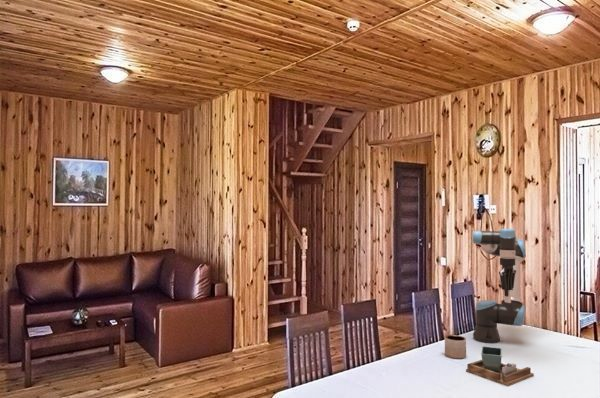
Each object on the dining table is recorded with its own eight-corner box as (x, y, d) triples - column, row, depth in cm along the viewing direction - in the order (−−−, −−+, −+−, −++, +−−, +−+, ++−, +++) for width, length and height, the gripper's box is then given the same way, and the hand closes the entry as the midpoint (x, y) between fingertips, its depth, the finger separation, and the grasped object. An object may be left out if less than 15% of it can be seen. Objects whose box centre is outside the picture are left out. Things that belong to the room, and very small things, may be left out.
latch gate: (501, 378, 199) (501, 365, 199) (512, 374, 204) (512, 361, 204) (505, 379, 197) (505, 366, 197) (516, 375, 202) (516, 362, 202)
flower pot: (502, 365, 212) (501, 347, 211) (502, 374, 204) (501, 355, 204) (483, 363, 216) (482, 346, 215) (482, 372, 208) (481, 353, 207)
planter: (444, 357, 231) (443, 339, 231) (445, 351, 241) (445, 333, 241) (466, 360, 227) (465, 341, 227) (466, 354, 237) (466, 336, 237)
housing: (465, 371, 211) (465, 364, 211) (492, 363, 223) (492, 355, 223) (507, 386, 193) (507, 377, 193) (533, 376, 206) (533, 368, 206)
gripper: (507, 259, 226) (507, 305, 226) (521, 257, 233) (521, 302, 233) (493, 257, 232) (494, 302, 232) (507, 256, 240) (507, 299, 239)
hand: (507, 302), depth 232 cm, fingers closed
